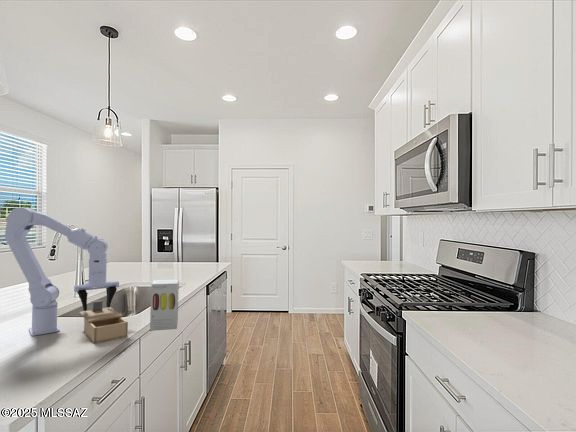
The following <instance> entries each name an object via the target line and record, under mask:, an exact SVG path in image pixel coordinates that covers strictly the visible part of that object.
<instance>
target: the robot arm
mask: <svg viewBox="0 0 576 432" xmlns="http://www.w3.org/2000/svg"><path fill="white" fill-rule="evenodd" d="M5 223H6V224H5V225H6V226H5V231H4V238H5V241H6V242H7V246H9V248H10V251H11V252H12V254H13V256H14V258H15V261H16V262H17V264H18V266H19V268H20V269H21V271H22V273H23V276H24V277H25V280H26V282H27V283H28V293H29V295H30V298H29V300H30V304H32V306H31V309H32V310H31V313H32V314H31V327H29V328H28V331H29V333H30V336H31V337H34V336H39V335H44V334H51V333H56V332H60V328H59V327H58V301H57V299H58V297H59V295H60V289H59V288H58V287H57V286H56V285H54V284H53V282H52V280H51V279H49V278H48V277H47V276H46V274H45V272H44V270H43V268H42V267H41V264H40V263H39V260H38V258H37V257H36V255H35V253H34V251H33V248H32V247H31V245H30V243H29V241H28V239H27V236H28V234H29V232H30V230H31V229H32V228H33V227H35V226H42V227H46V228H48V229H50V230H52V231H55V233H59V234H61V235H63V236H65V237H66V238H67V241H68V242H69V243H71V244H72V245H74V246H77V247H79V248H80V249H83V251H84V250H85V251H87V252H88V254H89V259H88V283H86V284H79V285H73V292H74V293H77V295H78V297H79V299H80V301H81V304H82V309H83V311H88V305H87V303H88V302H87V301H88V292H87V291H93V290H99V289H102V290H103V289H105V290H106V306H105V307H106V308H109V307H111V304H112V301H113V298H114V297H115V294H116V292H117V291H118V290H117V288H119V287H120V281H107V263H108V261H107V250H108V248H109V247H108V246H109V245H108V242H107V241H105V240H104V239H102V238H99V237H98V235H94V234H93V235H92V234H91V233H88V232H86V231H87V229H84V228H79V227H77V228H71V227H69V226H68V225H66V224H65V223H62V222H61V221H59V220H57V219H55V218H53V217H52V216H50V215H48V214H46V213H44V212H41V211H38V210H37V209H33V208H24V207H15V208H14V209H12V210H11V211H10V212H9V214H8V215H7V216H6V218H5Z"/></svg>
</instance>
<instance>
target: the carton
mask: <svg viewBox="0 0 576 432" xmlns="http://www.w3.org/2000/svg"><path fill="white" fill-rule="evenodd" d="M83 319H84V323H83V334H84V335H85V336H86V337H87V338H88V339H89V340H90V341H91V342H92V343H93V344H94V345H95V344H100V343H104V342H109V341H114V340H118V339H119V340H120V339H123V338H128V330H129V329H128V328H129V327H128V326H129V322H128V321H127V320H125V319H124V318H123V317H117V318H112V319H106V320H100V321H94V322H88V321H87V320H86V319H85V318H83Z"/></svg>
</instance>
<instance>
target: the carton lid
mask: <svg viewBox="0 0 576 432" xmlns="http://www.w3.org/2000/svg"><path fill="white" fill-rule="evenodd" d="M78 313H79V315H80V316H81V317H82V318H83V319H86V320H87V321H88V322H94V321H100V320H106V319H112V318H117V317H121V318H123V315H122V313H120V312H118V311H116V309H113V307H111V306H110V307H109V308H108V307H103V300H101V299H98V300H97V299H96V300H91V309H90V310H88V309H87V311H84V310H83V311H82V310H81V311H79V312H78Z"/></svg>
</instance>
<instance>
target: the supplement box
mask: <svg viewBox="0 0 576 432" xmlns="http://www.w3.org/2000/svg"><path fill="white" fill-rule="evenodd" d="M179 282H180V281H179V279H178V278H177V279H154V280H153V281H152V283H151V286H150V287H151V291H150V293H151V294H150V312H149V313H150V318H149V319H150V320H149V331H151V332H152V331H164V330H166V331H167V330H177V329H178V322H179V321H178V320H179V285H180V284H179Z"/></svg>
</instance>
